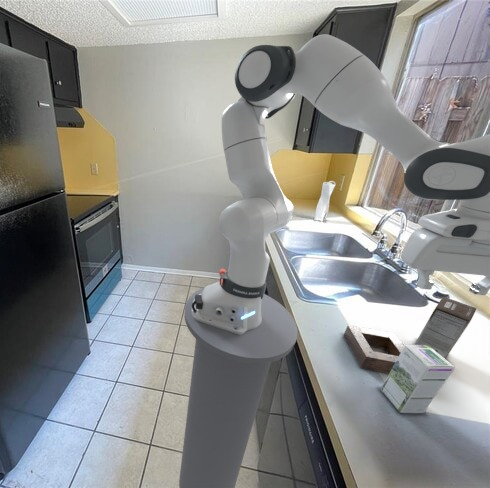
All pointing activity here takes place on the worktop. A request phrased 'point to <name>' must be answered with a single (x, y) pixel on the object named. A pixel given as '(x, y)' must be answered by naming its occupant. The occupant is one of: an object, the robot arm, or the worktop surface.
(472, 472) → the worktop surface
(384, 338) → the socket pad
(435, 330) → the coffee box
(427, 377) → the syrup box
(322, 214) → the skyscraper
